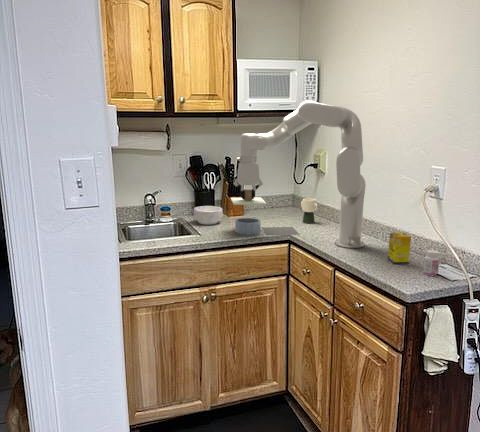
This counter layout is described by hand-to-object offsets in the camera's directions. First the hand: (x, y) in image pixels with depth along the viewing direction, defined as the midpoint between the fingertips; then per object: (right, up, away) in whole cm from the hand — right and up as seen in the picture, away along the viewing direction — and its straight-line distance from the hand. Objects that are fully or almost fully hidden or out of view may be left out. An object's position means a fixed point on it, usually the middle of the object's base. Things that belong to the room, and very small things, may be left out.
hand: (247, 198), depth 214 cm
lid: (0, -2, 0) cm, 2 cm away
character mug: (+33, -12, +25) cm, 43 cm away
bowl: (0, -16, +3) cm, 17 cm away
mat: (+16, -16, +5) cm, 23 cm away
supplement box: (+57, -26, -40) cm, 75 cm away
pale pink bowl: (-21, -12, +24) cm, 34 cm away
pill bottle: (+64, -29, -54) cm, 89 cm away
